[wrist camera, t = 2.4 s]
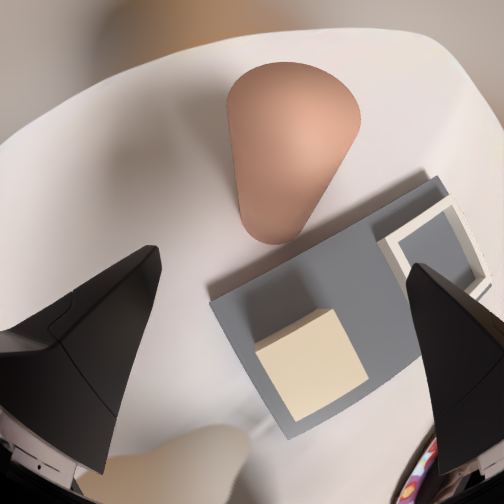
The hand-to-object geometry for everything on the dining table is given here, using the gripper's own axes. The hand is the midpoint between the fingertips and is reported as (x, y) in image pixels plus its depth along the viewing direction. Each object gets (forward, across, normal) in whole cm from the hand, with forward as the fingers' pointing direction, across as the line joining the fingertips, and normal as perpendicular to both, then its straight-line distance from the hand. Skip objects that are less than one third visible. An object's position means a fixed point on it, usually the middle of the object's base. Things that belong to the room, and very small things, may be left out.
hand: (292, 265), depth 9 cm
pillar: (+13, 0, +4) cm, 14 cm away
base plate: (+8, -9, +9) cm, 15 cm away
